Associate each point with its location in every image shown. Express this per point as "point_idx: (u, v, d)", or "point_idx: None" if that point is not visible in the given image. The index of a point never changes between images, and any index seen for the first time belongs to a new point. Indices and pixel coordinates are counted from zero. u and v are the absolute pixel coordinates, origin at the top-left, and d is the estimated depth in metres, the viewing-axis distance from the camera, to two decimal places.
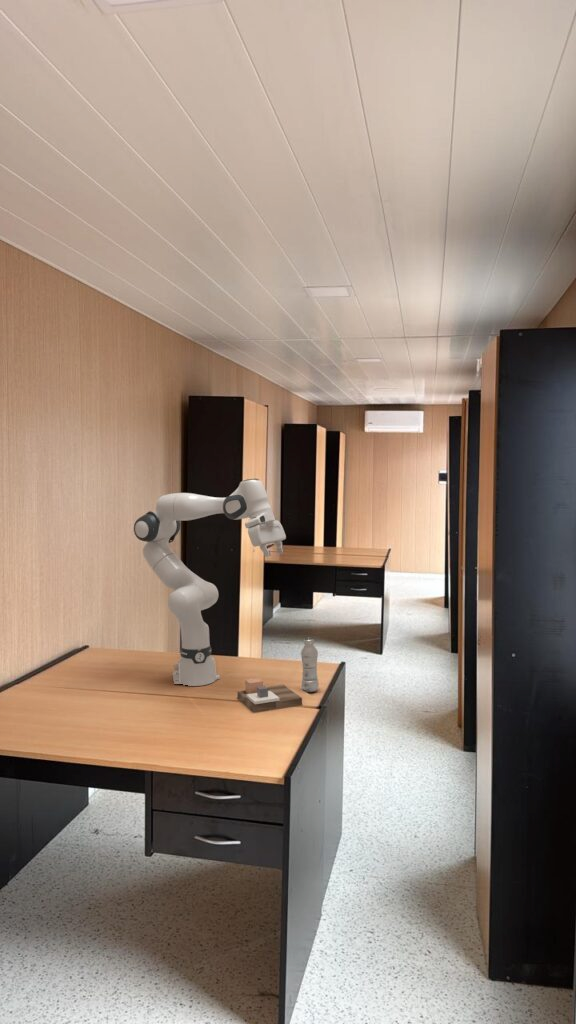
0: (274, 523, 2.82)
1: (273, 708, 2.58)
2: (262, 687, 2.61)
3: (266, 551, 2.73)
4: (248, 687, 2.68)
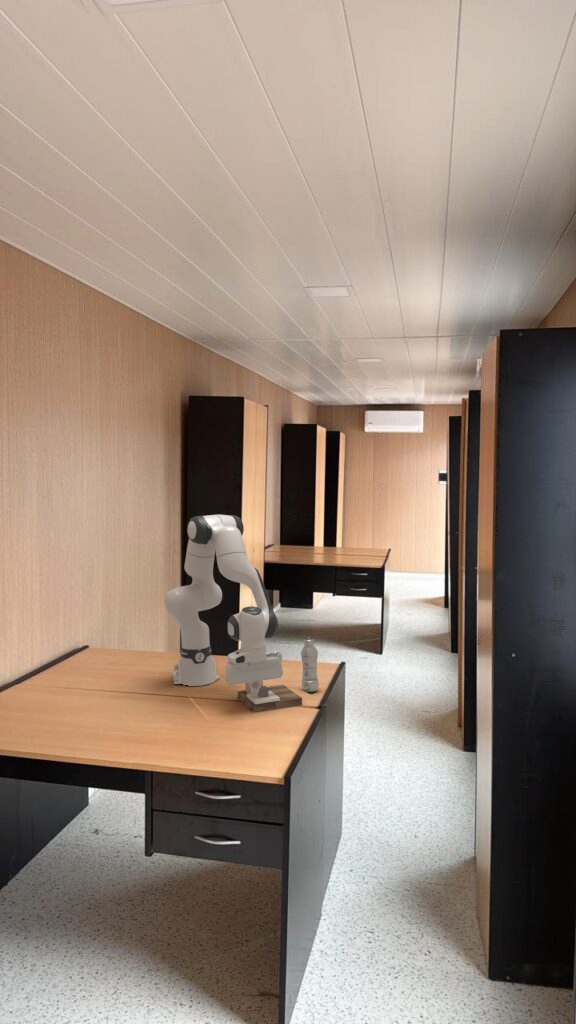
0: (267, 661, 2.59)
1: (273, 708, 2.58)
2: (262, 687, 2.61)
3: (251, 689, 2.59)
4: (248, 687, 2.68)
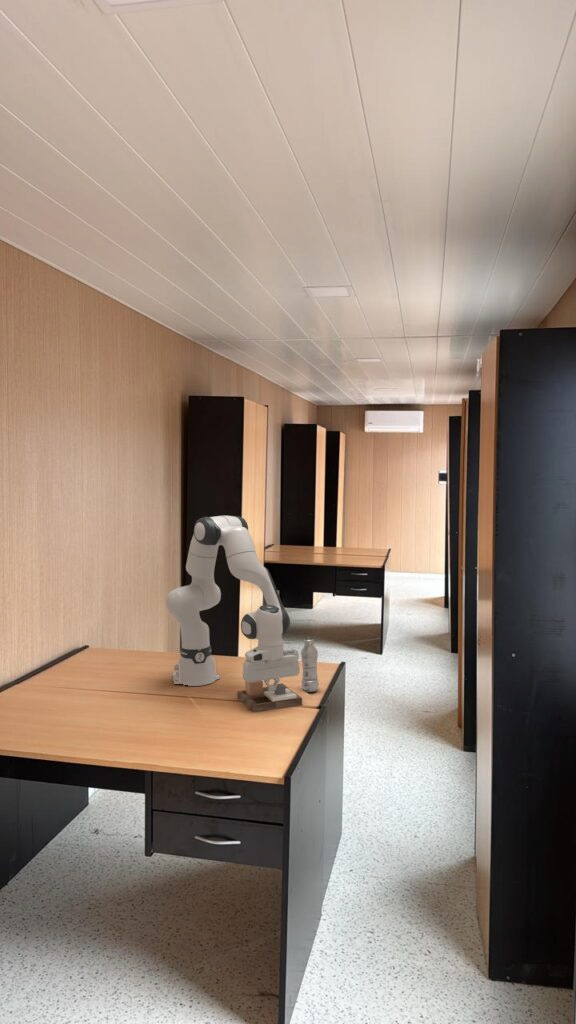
0: (284, 658, 2.62)
1: (273, 708, 2.58)
2: (279, 684, 2.64)
3: (268, 686, 2.61)
4: (248, 687, 2.68)
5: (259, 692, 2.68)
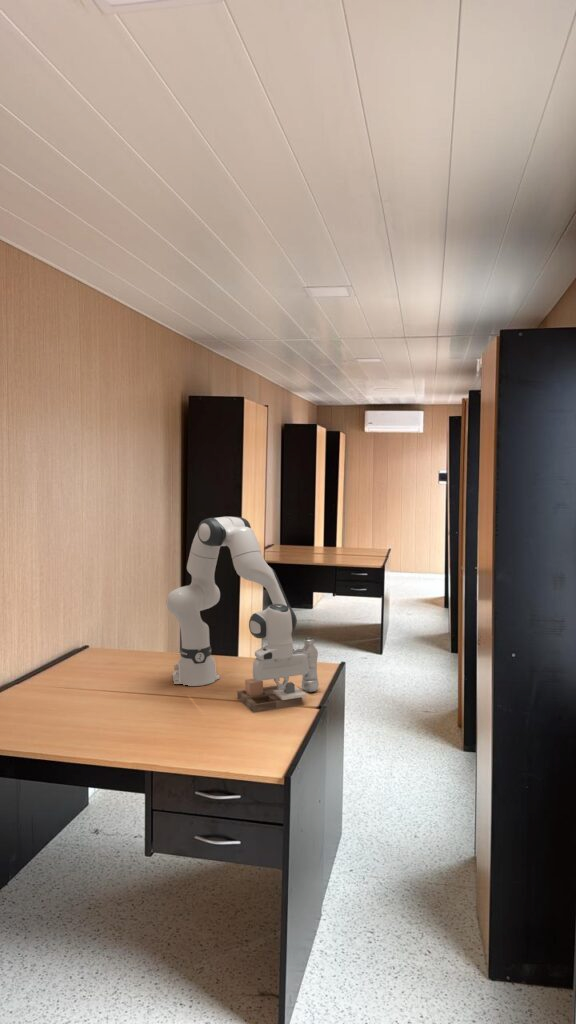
0: (293, 657, 2.63)
1: (273, 708, 2.58)
2: (289, 683, 2.65)
3: (278, 685, 2.63)
4: (248, 687, 2.68)
5: (259, 692, 2.68)
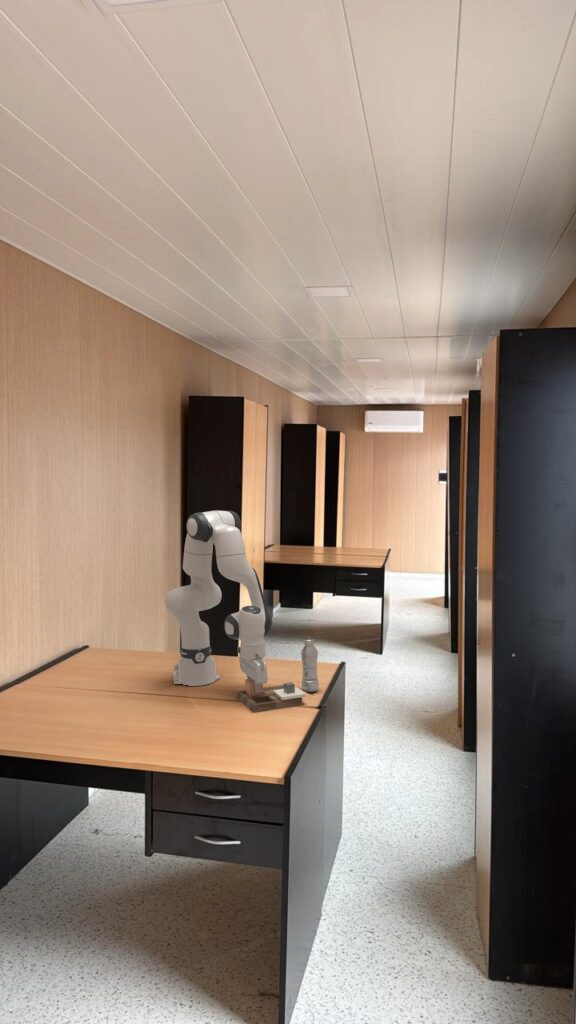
0: (252, 662, 2.64)
1: (273, 708, 2.58)
2: (289, 683, 2.65)
3: None
4: (248, 687, 2.68)
5: (259, 692, 2.68)
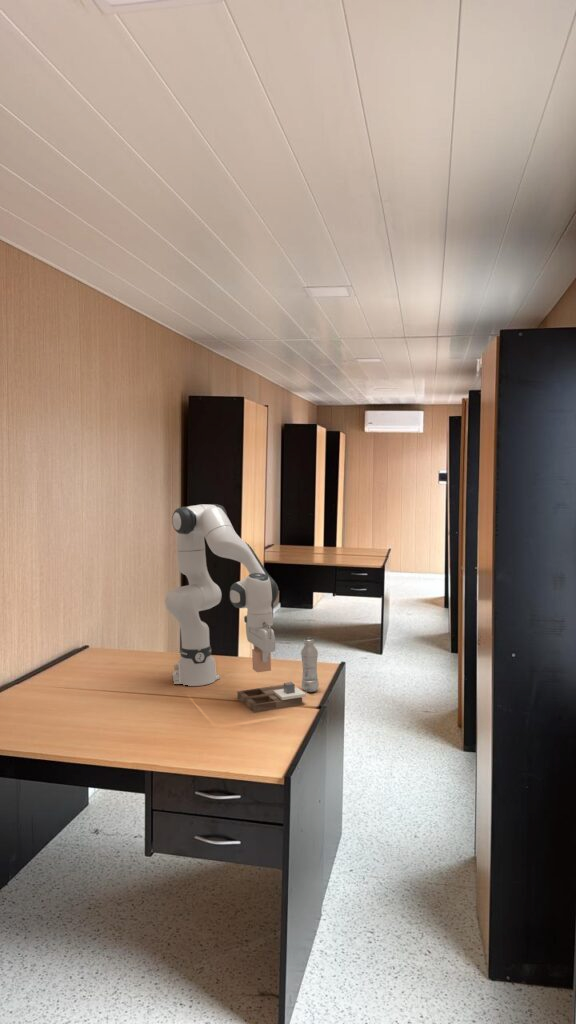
0: (259, 630, 2.55)
1: (273, 708, 2.58)
2: (289, 683, 2.65)
3: None
4: (255, 657, 2.58)
5: (267, 662, 2.59)
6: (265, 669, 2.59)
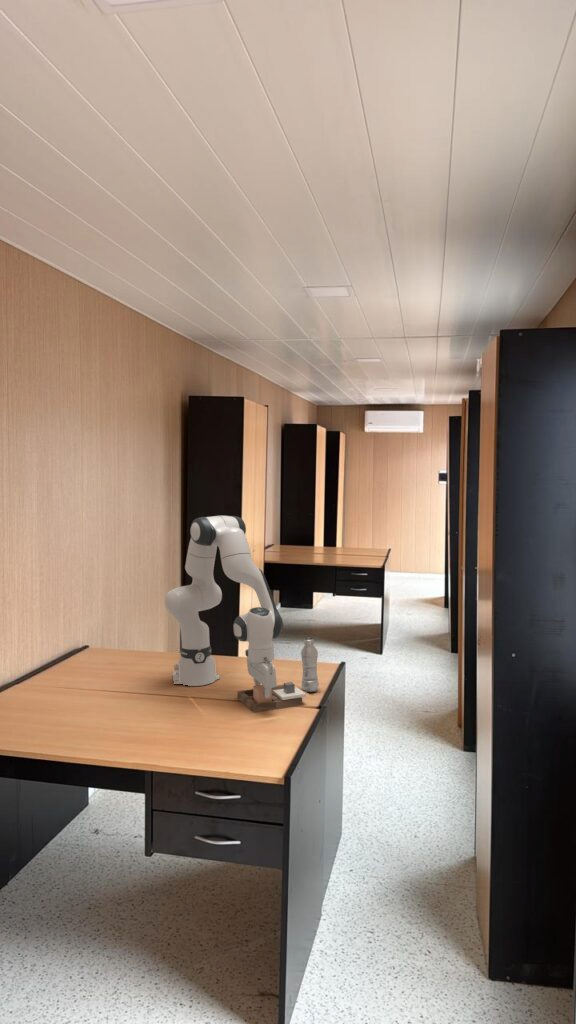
0: (260, 665, 2.56)
1: (273, 708, 2.58)
2: (289, 683, 2.65)
3: None
4: (256, 694, 2.59)
5: (268, 699, 2.60)
6: None
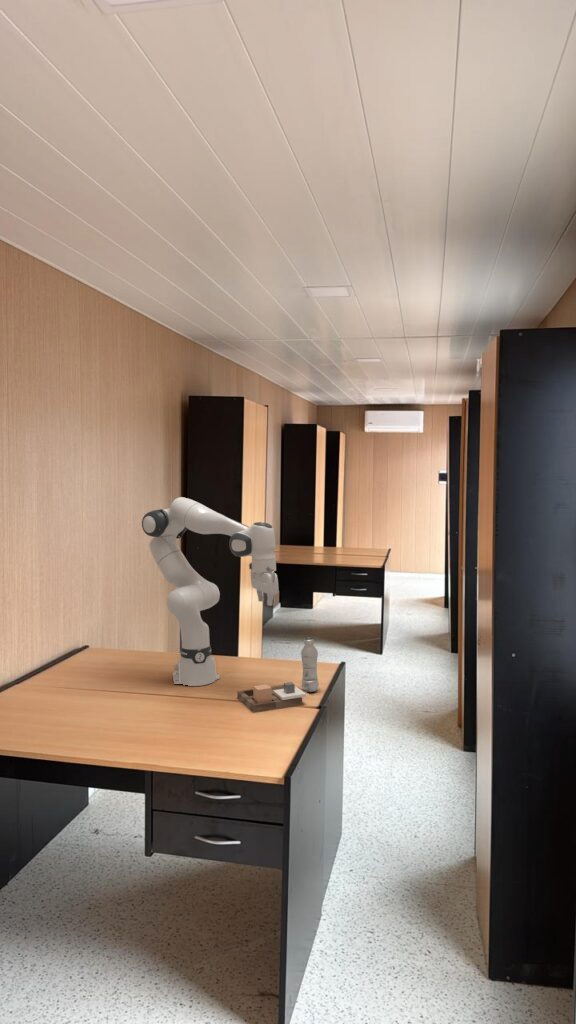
0: (263, 574, 2.72)
1: (273, 708, 2.58)
2: (289, 683, 2.65)
3: None
4: (256, 694, 2.59)
5: (268, 699, 2.60)
6: None
